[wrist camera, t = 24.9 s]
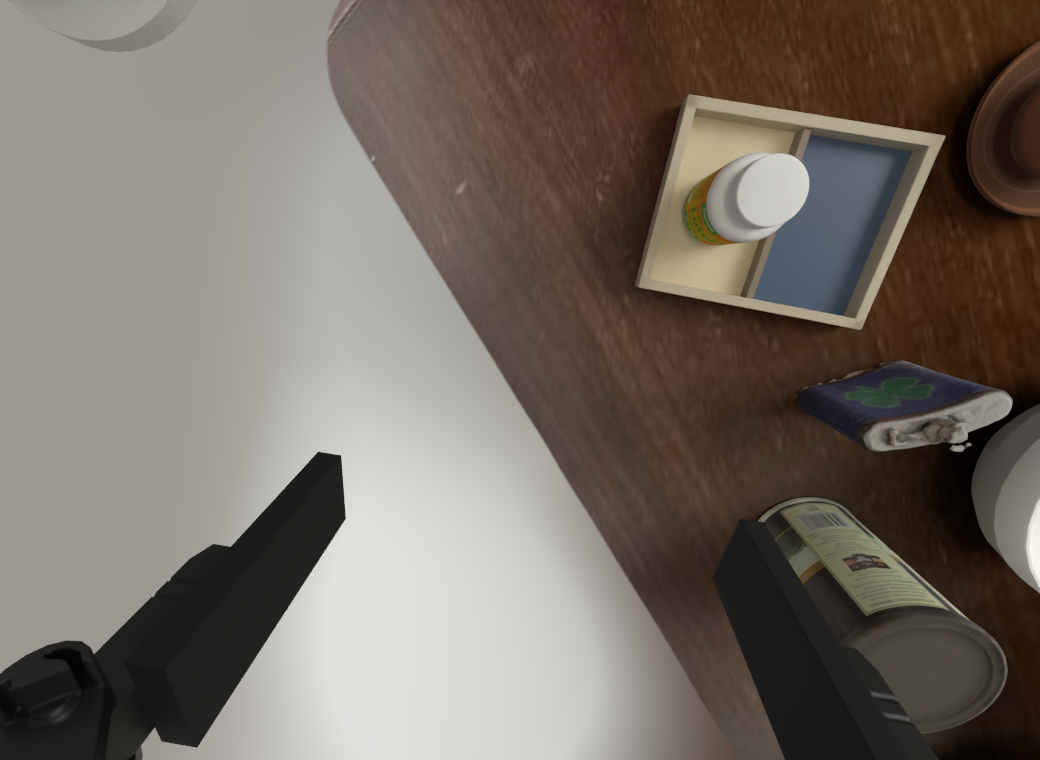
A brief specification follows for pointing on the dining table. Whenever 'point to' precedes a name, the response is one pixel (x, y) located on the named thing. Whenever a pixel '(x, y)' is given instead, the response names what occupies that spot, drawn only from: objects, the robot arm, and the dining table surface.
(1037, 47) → the cup and saucer
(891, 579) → the coffee can
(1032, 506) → the bowl
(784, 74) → the dining table surface
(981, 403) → the flask
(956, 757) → the dining table surface
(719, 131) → the sorting tray
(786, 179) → the supplement bottle
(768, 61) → the dining table surface
